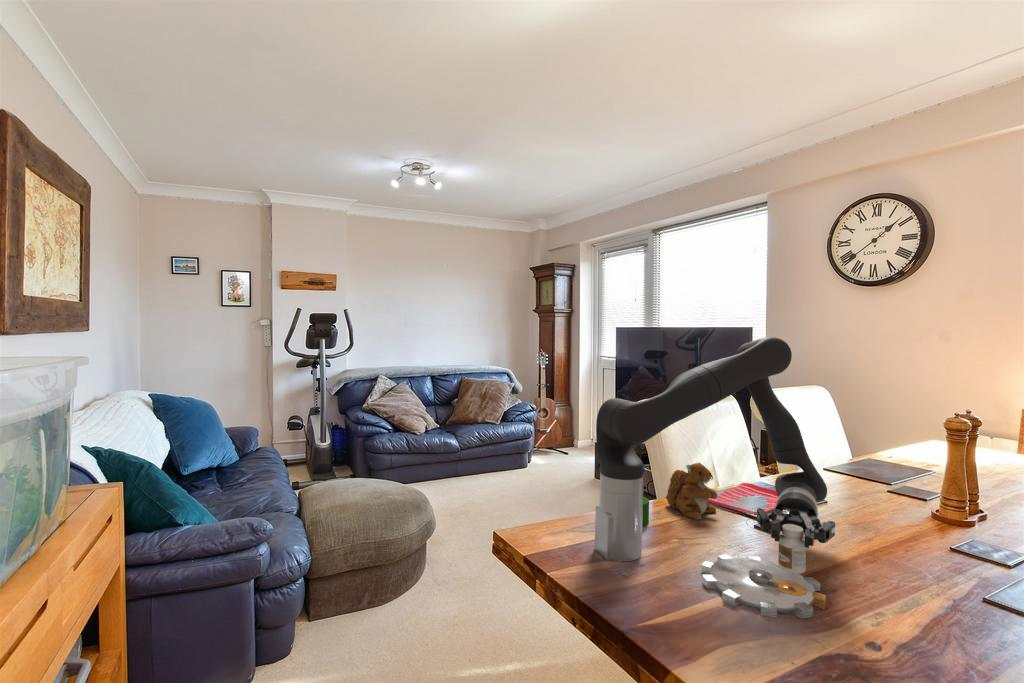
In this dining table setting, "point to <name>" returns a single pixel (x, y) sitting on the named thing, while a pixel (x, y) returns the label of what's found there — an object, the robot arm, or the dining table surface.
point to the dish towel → (744, 491)
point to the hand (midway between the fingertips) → (791, 539)
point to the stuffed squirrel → (691, 491)
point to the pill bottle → (792, 549)
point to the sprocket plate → (762, 586)
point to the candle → (645, 511)
